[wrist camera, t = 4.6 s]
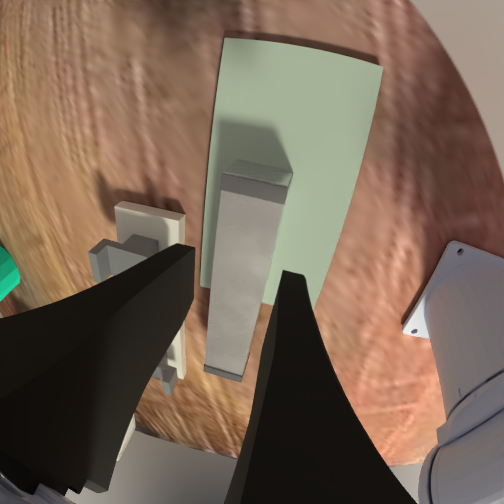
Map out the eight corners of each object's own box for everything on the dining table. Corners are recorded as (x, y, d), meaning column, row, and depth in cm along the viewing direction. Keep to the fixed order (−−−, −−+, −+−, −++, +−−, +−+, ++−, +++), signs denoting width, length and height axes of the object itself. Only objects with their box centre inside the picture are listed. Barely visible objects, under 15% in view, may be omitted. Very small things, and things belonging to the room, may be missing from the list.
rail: (293, 171, 15) (288, 186, 13) (248, 358, 24) (241, 383, 22) (237, 158, 15) (221, 171, 13) (213, 348, 24) (203, 371, 22)
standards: (186, 214, 18) (155, 247, 15) (187, 372, 28) (172, 404, 25) (121, 200, 19) (84, 227, 16) (143, 356, 29) (126, 385, 25)
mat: (381, 67, 11) (383, 67, 11) (311, 308, 20) (311, 314, 20) (228, 39, 12) (224, 37, 12) (203, 280, 21) (200, 285, 21)
